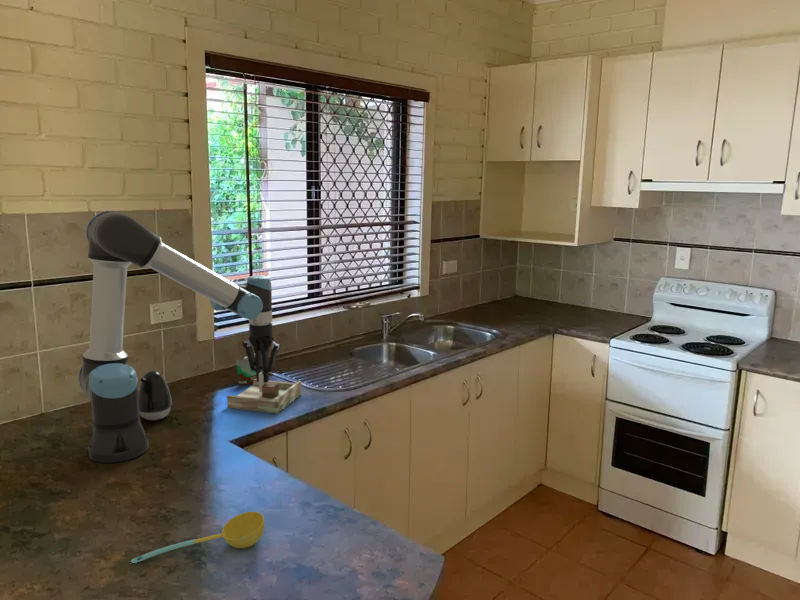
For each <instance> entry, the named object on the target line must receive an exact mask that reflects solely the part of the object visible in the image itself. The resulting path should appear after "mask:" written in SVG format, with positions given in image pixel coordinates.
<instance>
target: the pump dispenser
mask: <svg viewBox="0 0 800 600" xmlns="http://www.w3.org/2000/svg"><path fill="white" fill-rule="evenodd" d="M138 399H139V413H140V416H141V417H142V418H143V419H144V420H148V421H158V420H161V419H164V418H165V417H167V416H168V415H169V413H170V411H171V408H172V406H173V399H172V395H171V392H170V388H169V386H168V384H167V382H166V379H165V378H164V376H163V375H162V374H161V373H160V372H159V371H157V370H149V371H147V372H146V373H144V375H142V378H140V384H139V387H138Z"/></svg>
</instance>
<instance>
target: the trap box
mask: <svg viewBox="0 0 800 600" xmlns="http://www.w3.org/2000/svg"><path fill="white" fill-rule="evenodd" d="M268 382H271V383H278V385H279V395H278V396H276V397H275V398H274V399H271V398H263V397H262V392H259V382H257V379H253V384H252V385H250V387H248V388H246V389H245V390H243V391H242V392H240V393H239V394H237V395H230V394H228V395H226V404H227V408H228V409H235V410H242V411H243V410H245V411H251V412H256V413H257V412H258V413H265V414H267V413H268V414H273V413H275V415H278V414H279V413H281V412H282V411H283V410H284V409H286V408H287V407H288V406H289V405H288V404H290V403H291V402H292V401H293V402H294V400H295V399H296V398H297V399H299V398H300V397H301V396H302V381H300V380H298V381H296V382H295V383H294V382H285V381H278V380H277V381H276V380H270V379H269V381H268ZM300 395H301V396H300ZM299 396H300V397H299ZM297 399H296V400H297ZM296 400H295V401H296ZM293 402H292V403H293ZM292 403H291V404H292ZM291 404H290V405H291ZM287 405H288V406H287ZM286 406H287V407H286ZM285 407H286V408H285ZM282 409H283V410H282ZM281 410H282V411H281ZM280 411H281V412H280Z"/></svg>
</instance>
